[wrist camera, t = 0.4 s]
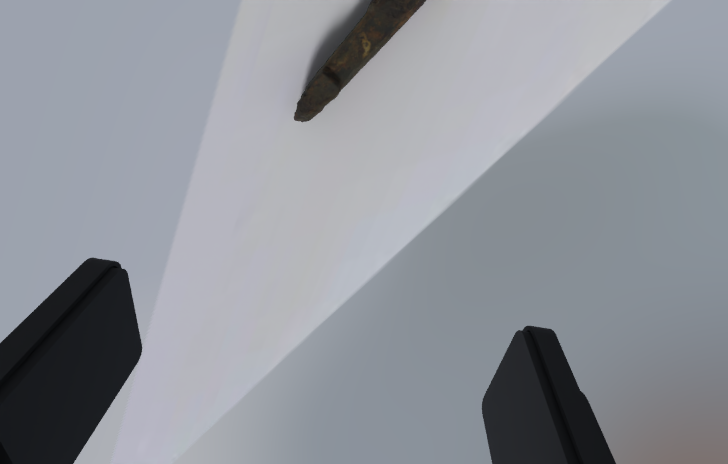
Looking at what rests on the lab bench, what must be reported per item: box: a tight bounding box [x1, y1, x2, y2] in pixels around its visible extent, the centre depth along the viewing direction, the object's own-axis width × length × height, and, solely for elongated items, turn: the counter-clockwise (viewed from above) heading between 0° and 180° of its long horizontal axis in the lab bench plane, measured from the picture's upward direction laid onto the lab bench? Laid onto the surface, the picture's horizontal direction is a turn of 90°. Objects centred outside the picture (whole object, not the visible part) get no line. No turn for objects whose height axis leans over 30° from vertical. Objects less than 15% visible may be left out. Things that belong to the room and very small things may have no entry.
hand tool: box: [294, 0, 426, 122], centre depth 39 cm, size 19×4×5 cm, turn 134°
